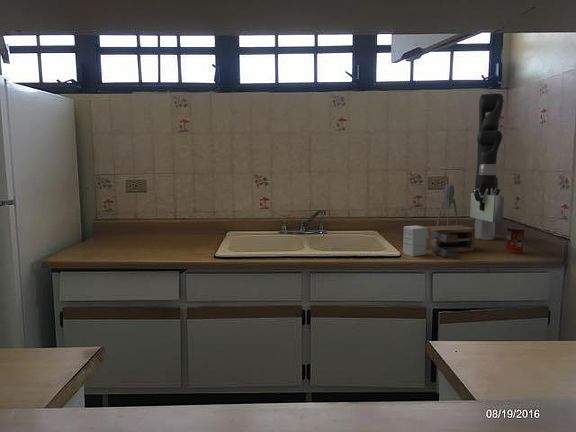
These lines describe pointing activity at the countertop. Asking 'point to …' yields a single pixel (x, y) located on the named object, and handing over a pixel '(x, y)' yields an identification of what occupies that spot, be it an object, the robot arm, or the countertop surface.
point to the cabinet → (449, 239)
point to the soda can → (514, 239)
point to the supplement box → (414, 240)
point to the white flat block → (488, 208)
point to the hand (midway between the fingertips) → (485, 210)
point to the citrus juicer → (448, 202)
